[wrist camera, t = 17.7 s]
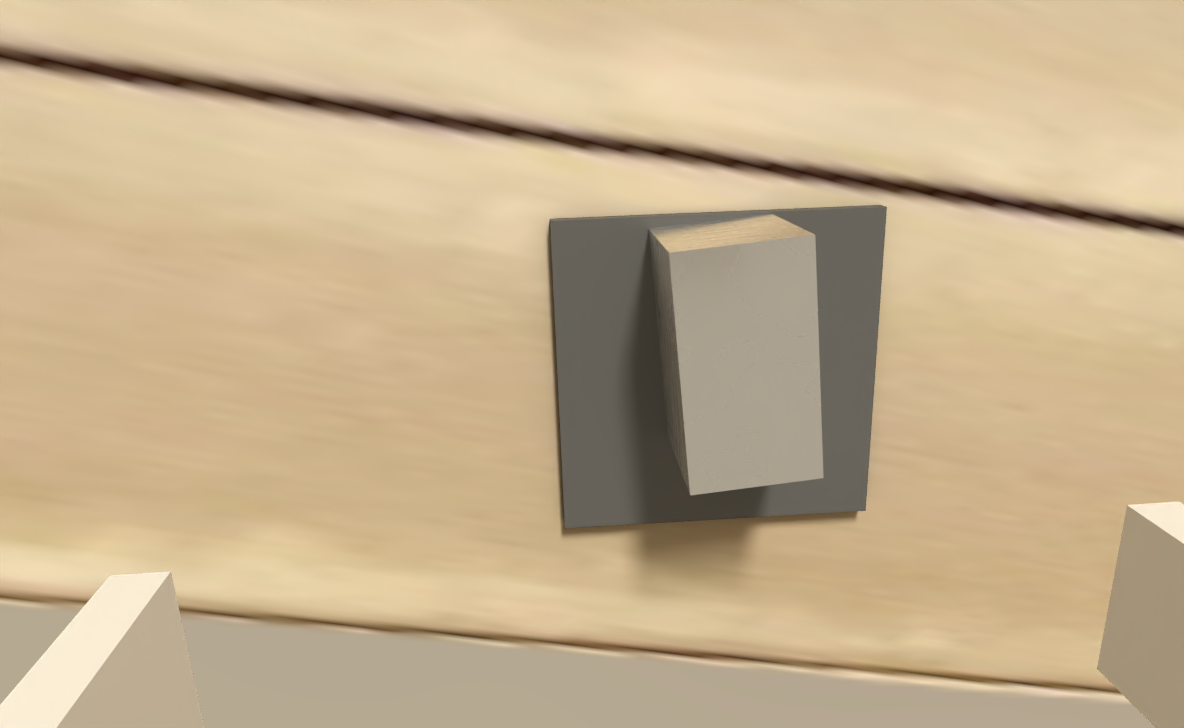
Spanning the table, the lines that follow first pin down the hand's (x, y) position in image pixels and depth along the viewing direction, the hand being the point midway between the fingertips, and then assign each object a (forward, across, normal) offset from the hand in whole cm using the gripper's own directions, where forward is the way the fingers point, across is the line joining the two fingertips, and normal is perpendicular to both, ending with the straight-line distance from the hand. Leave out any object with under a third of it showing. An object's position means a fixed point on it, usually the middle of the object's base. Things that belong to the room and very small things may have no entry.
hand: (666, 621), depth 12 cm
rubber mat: (+20, +5, -3) cm, 21 cm away
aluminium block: (+20, +5, -2) cm, 20 cm away
